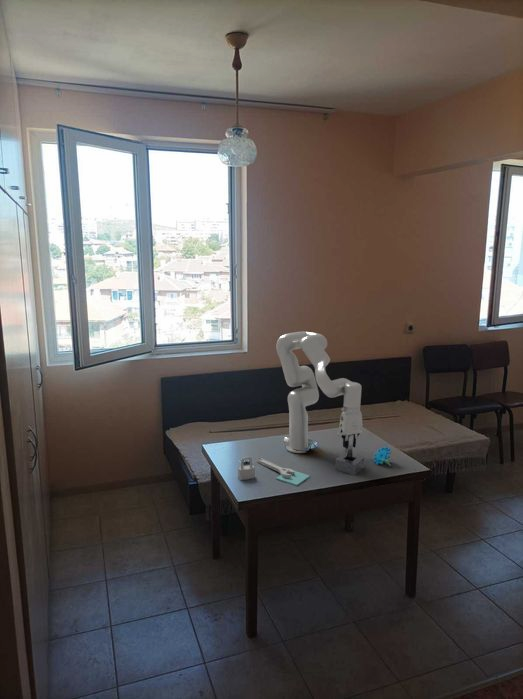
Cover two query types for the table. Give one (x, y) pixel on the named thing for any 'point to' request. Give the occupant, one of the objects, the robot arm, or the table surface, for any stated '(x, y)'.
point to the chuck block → (349, 464)
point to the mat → (294, 478)
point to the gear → (382, 456)
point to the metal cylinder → (349, 446)
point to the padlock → (246, 470)
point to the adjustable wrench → (277, 468)
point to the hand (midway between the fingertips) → (349, 446)
